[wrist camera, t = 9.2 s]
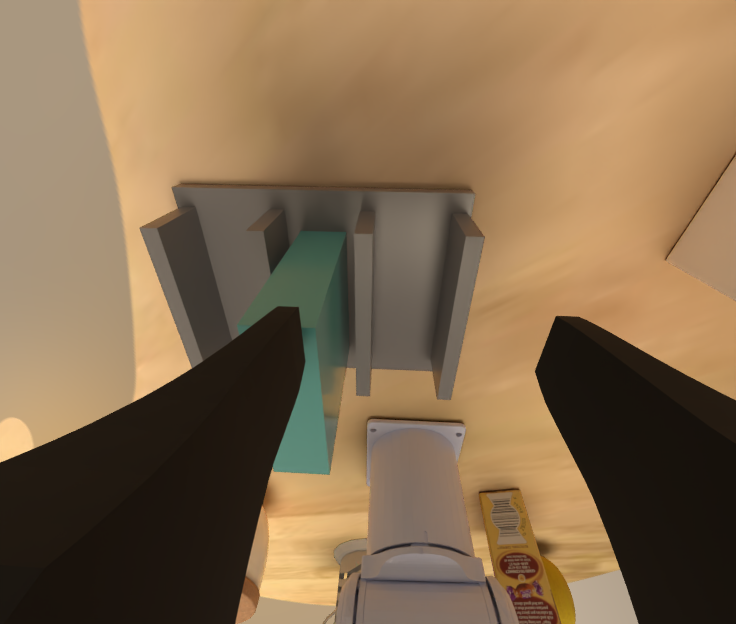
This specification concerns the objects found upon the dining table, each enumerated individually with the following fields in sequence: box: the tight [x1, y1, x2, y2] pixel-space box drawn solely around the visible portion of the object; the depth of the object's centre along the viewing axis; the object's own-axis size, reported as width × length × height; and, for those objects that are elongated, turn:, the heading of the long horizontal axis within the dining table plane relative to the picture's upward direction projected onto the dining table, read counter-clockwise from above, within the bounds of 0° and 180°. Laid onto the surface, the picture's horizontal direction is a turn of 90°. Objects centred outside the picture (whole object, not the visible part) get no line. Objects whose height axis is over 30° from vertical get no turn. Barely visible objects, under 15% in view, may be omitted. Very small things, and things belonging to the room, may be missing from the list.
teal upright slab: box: [237, 231, 350, 475], centre depth 16 cm, size 8×2×9 cm, turn 0°
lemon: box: [541, 556, 575, 624], centre depth 35 cm, size 6×6×8 cm
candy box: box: [479, 490, 561, 624], centre depth 28 cm, size 9×4×15 cm, turn 18°
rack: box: [140, 184, 485, 400], centre depth 19 cm, size 12×16×4 cm
